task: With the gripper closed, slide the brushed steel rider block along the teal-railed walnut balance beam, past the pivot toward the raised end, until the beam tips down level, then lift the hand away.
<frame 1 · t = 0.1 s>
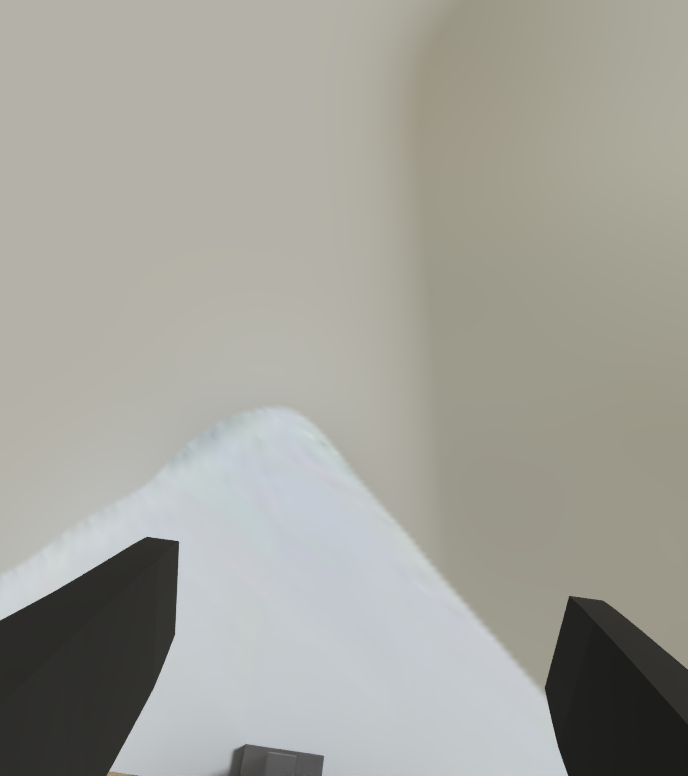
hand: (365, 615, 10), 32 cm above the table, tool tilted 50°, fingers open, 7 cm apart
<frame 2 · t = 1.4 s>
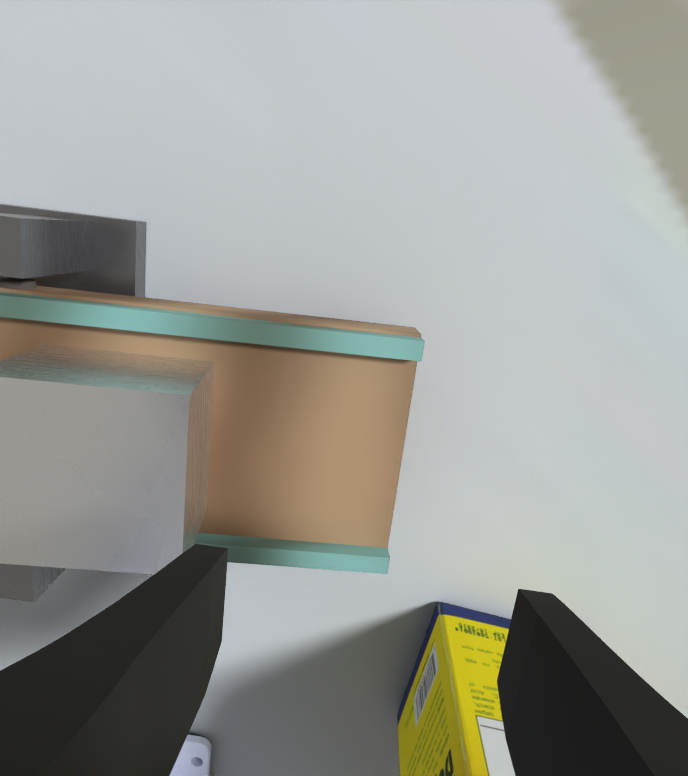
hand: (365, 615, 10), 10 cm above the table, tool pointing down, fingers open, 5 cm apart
balance beam: (50, 421, 17), point 3 cm above the table, hinge at -6.3°, touching steel rider
beam stand: (75, 388, 21), on the table
steel rider: (128, 431, 17), point 3 cm above the table, tilted 6°, touching balance beam
supplement box: (484, 671, 23), on the table
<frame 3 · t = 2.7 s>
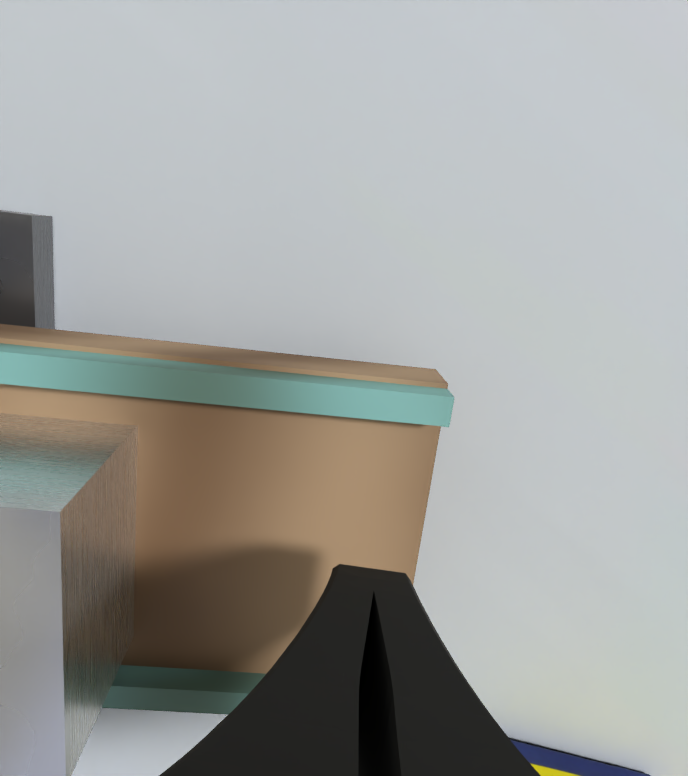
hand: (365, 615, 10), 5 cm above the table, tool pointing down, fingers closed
steel rider: (12, 527, 12), point 3 cm above the table, tilted 6°, touching balance beam
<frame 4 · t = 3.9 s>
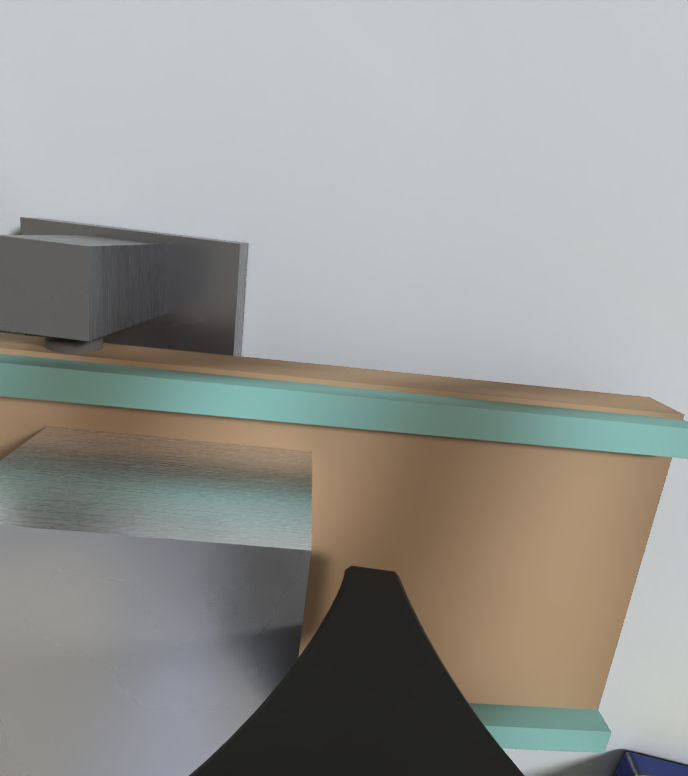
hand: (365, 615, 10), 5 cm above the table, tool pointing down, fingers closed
balance beam: (121, 543, 12), point 3 cm above the table, hinge at -6.3°
beam stand: (140, 470, 15), on the table
steel rider: (176, 553, 11), point 4 cm above the table, tilted 6°, touching gripper
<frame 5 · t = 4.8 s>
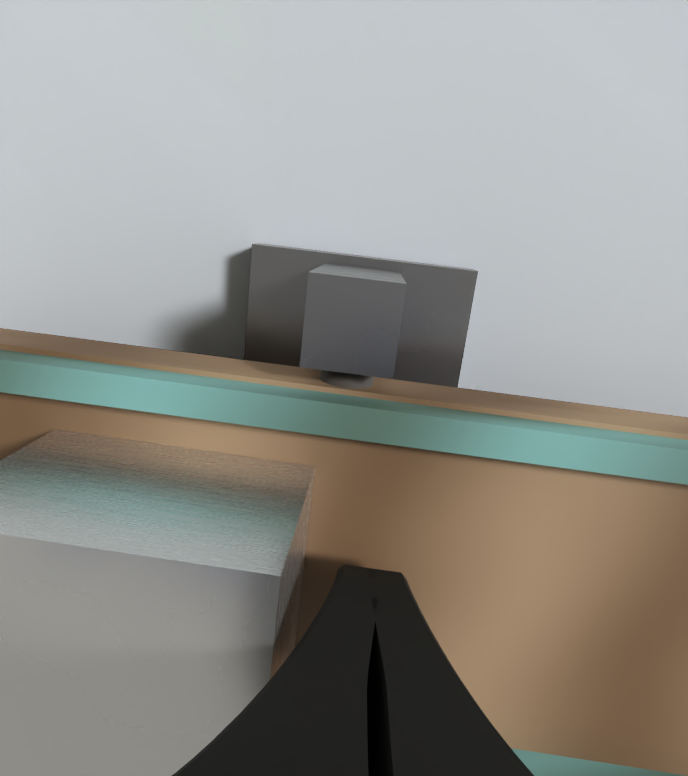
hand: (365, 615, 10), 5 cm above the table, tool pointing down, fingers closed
balance beam: (371, 581, 11), point 4 cm above the table, hinge at 0.8°
beam stand: (335, 496, 15), on the table
steel rider: (178, 563, 11), point 4 cm above the table, touching gripper
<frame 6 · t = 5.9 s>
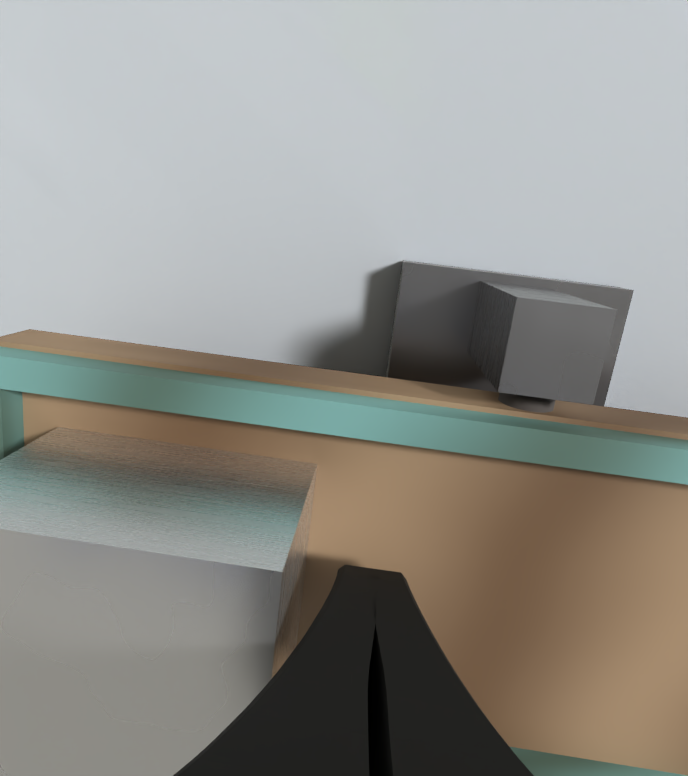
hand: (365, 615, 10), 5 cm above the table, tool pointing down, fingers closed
balance beam: (538, 604, 11), point 4 cm above the table, hinge at 1.0°, touching steel rider
beam stand: (463, 513, 15), on the table
steel rider: (181, 560, 11), point 4 cm above the table, touching balance beam, gripper
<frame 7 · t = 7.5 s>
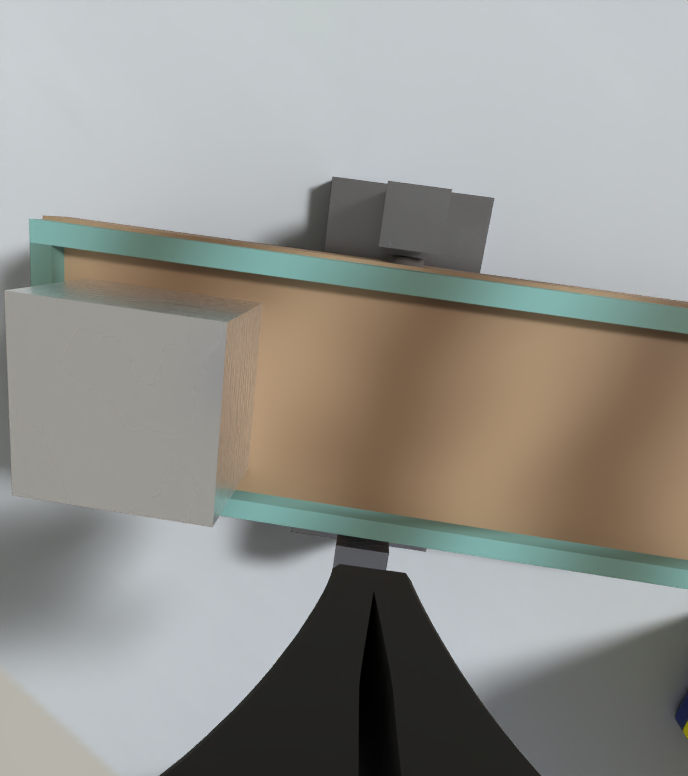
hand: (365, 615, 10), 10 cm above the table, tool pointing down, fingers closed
balance beam: (417, 409, 16), point 4 cm above the table, hinge at 1.0°, touching steel rider
beam stand: (383, 374, 20), on the table
steel rider: (170, 376, 16), point 4 cm above the table, touching balance beam
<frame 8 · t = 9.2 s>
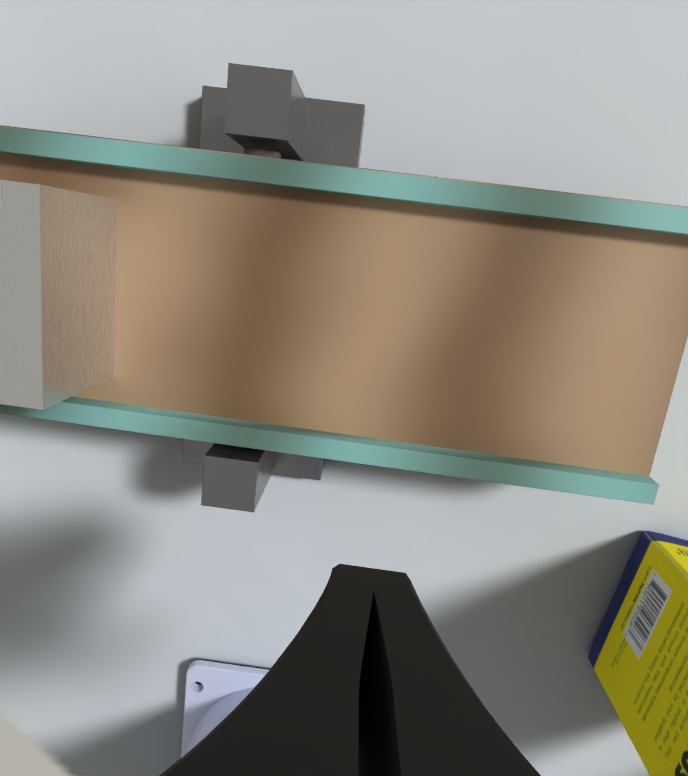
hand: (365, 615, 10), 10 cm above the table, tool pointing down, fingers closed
balance beam: (282, 311, 16), point 4 cm above the table, hinge at 1.0°, touching steel rider
beam stand: (270, 296, 19), on the table
steel rider: (30, 280, 16), point 4 cm above the table, touching balance beam
supplement box: (682, 609, 22), on the table
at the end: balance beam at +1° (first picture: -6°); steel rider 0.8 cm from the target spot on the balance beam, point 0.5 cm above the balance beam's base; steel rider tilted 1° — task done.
